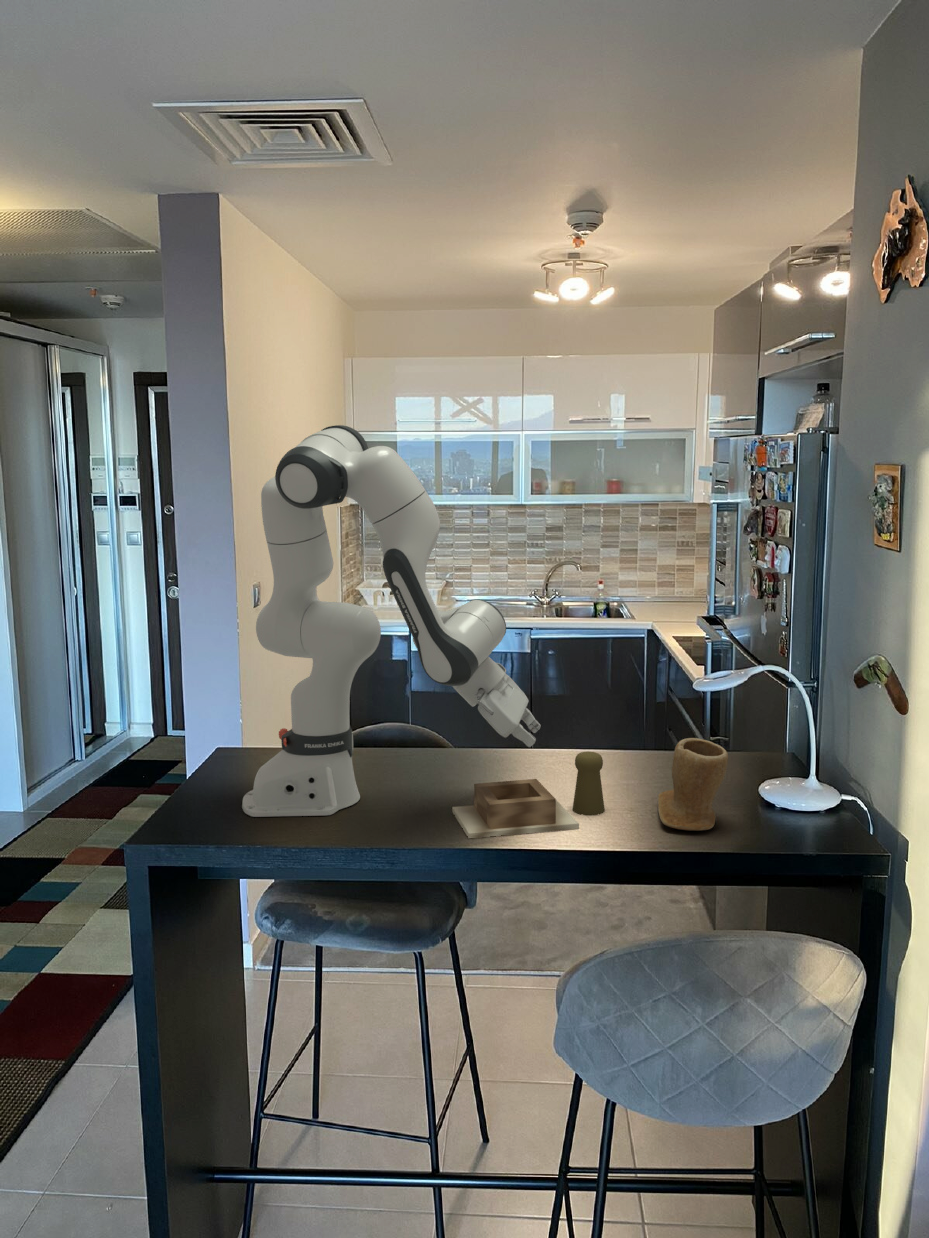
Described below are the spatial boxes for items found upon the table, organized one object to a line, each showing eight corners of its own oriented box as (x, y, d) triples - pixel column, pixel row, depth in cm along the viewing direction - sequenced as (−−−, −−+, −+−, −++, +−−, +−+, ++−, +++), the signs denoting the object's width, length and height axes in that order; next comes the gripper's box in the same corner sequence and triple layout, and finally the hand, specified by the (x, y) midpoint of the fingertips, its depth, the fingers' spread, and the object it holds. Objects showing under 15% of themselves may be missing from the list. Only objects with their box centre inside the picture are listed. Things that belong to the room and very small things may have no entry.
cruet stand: (468, 838, 166) (468, 808, 166) (452, 812, 180) (452, 783, 179) (579, 828, 171) (579, 798, 170) (554, 803, 184) (554, 775, 183)
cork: (595, 802, 184) (595, 747, 183) (610, 812, 179) (611, 755, 177) (566, 806, 182) (567, 750, 181) (581, 817, 177) (581, 758, 175)
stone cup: (728, 838, 166) (730, 753, 163) (657, 833, 168) (659, 750, 166) (722, 808, 180) (724, 730, 178) (657, 805, 183) (659, 728, 180)
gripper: (486, 684, 168) (542, 740, 168) (501, 661, 188) (552, 711, 188) (461, 708, 170) (517, 764, 169) (479, 683, 190) (529, 733, 189)
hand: (535, 736), depth 179 cm, fingers open, 8 cm apart
